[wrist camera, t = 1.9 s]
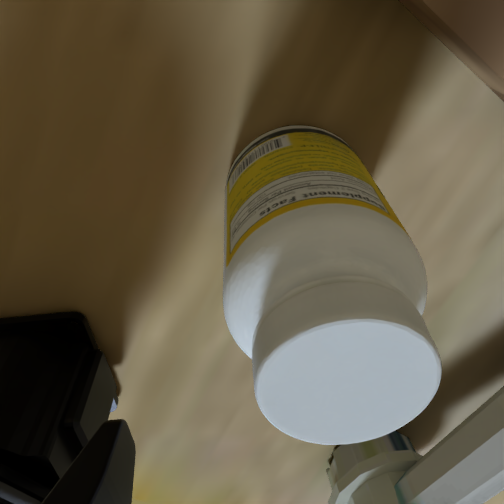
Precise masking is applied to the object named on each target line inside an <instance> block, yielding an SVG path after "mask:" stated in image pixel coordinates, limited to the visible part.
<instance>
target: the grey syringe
mask: <svg viewBox="0 0 504 504" xmlns="http://www.w3.org/2000/svg"><path fill="white" fill-rule="evenodd" d="M333 456H334V459H333V461H332V464H331V466H330V468H329V469H326V471H327V474H328V477H329V481H330V484H331V488H332V493H331V496H330V498H329V501H328V503H329V504H483V503H484V502H486V501H487V500H489V499H490V498H492V497H493V496H495V495H496V494H498V493H500V492H501V491H503V490H504V386H503V387H502V388H501V389H500V390H499V391H498V392H496V393H495V394H494V395H493V396H492V397H491V398H489V399H488V400H487V401H486V402H485V403H484V404H483V405H481V406H480V407H479V408H478V409H477V410H476V411H475V412H473V413H472V414H471V415H470V416H469V417H468V418H467V419H465V420H464V421H463V422H462V423H461V424H460V425H458V426H457V427H456V428H455V429H454V430H453V431H452V432H450V433H449V434H448V435H447V436H446V437H445V438H444V439H442V440H441V441H440V442H439V443H438V444H437V445H435V446H434V447H433V448H432V449H431V450H430V451H429V452H427V453H426V454H425V455H424V456H422V455H420V454H418V453H416V452H415V450H414V448H413V446H412V444H411V442H410V440H409V438H408V437H406V436H404V435H402V434H400V433H398V432H396V431H393V432H391V433H389V434H386V435H384V436H381V437H379V438H375V439H372V440H368V441H364V442H359V443H352V444H341V445H340V446H339V447H338V448H337V449H336V450H335V451H334V452H333Z"/></svg>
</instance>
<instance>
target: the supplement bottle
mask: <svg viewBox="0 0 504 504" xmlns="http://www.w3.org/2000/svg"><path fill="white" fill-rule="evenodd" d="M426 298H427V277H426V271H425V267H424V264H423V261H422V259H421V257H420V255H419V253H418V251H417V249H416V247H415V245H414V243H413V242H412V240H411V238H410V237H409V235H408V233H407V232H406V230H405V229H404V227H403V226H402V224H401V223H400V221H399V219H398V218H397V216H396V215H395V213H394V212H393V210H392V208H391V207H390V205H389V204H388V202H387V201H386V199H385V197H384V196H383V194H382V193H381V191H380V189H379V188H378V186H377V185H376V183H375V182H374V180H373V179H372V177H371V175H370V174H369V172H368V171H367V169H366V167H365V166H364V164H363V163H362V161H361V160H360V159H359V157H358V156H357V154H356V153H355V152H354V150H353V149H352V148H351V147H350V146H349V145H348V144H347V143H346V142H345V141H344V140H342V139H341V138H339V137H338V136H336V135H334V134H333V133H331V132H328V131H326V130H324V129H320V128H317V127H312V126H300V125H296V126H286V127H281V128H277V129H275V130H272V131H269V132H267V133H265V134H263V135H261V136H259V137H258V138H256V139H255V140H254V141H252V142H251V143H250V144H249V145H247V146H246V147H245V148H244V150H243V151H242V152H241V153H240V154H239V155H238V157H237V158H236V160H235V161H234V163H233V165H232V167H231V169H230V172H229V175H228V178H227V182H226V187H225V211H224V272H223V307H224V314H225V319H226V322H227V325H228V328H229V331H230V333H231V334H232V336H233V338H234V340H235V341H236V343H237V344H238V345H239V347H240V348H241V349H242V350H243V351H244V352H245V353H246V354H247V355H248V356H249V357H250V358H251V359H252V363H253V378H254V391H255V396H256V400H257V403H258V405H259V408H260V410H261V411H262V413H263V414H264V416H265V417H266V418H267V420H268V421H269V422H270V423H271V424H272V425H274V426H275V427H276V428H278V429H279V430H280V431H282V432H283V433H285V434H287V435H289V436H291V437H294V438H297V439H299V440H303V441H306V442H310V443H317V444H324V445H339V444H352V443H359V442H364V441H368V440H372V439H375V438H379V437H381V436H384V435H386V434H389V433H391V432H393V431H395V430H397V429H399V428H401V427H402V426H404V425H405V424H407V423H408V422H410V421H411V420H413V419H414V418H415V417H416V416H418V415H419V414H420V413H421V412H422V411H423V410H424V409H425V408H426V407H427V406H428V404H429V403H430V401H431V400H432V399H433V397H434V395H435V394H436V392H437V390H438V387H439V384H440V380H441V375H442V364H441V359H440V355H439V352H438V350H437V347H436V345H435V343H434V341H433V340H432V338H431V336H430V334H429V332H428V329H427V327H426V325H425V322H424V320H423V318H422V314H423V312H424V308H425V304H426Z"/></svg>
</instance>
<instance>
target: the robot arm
mask: <svg viewBox="0 0 504 504" xmlns="http://www.w3.org/2000/svg"><path fill="white" fill-rule="evenodd" d="M72 322H76V323H77V324H74V323H72ZM116 388H117V387H116V384H115V381H114V378H113V376H112V373H111V371H110V368H109V366H108V363H107V360H106V358H105V355H104V353H103V352H102V351H101V350H100V349H98V346H97V344H96V341H95V339H94V336H93V334H92V331H91V329H90V326H89V323H88V321H87V319H86V317H85V316H84V315H83V314H81V313H79V312H63V313H53V314H42V315H32V316H22V317H11V318H1V319H0V504H131V502H132V490H133V478H134V466H135V454H136V451H135V443H134V440H133V438H132V435H131V432H130V430H129V427H128V425H127V423H126V421H125V420H123V419H117V420H108V417H109V414H110V412H112V411H114V410H116V408H117V404H118V397H117V395H116Z"/></svg>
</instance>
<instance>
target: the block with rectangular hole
mask: <svg viewBox="0 0 504 504" xmlns="http://www.w3.org/2000/svg"><path fill="white" fill-rule="evenodd" d="M399 1H400V2H401V3H402V4H403V5H404V6H405V7H406V8H407V9H408V10H409V11H410V12H411V13H412V14H413V15H414V16H415V17H416V18H417V19H418V20H419V21H421V22H422V23H423V24H424V25H425V26H426V27H427V28H428V29H429V30H430V31H431V32H432V33H433V34H434V35H435V36H436V37H437V38H438V39H439V40H440V41H441V42H442V43H443V44H444V45H445V46H447V47H448V48H449V49H450V50H451V51H452V52H453V53H454V54H455V55H456V56H457V57H458V58H459V59H460V60H461V61H462V62H463V63H464V64H465V65H466V66H467V67H468V68H469V69H470V70H472V71H473V72H474V73H475V74H476V75H477V76H478V77H479V78H480V79H481V80H482V81H483V82H484V83H485V84H486V85H487V86H488V87H489V88H490V89H491V90H492V91H493V92H494V93H495V94H496V95H498V96H499V97H500V98H501V99H502V100H503V101H504V0H399Z"/></svg>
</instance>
